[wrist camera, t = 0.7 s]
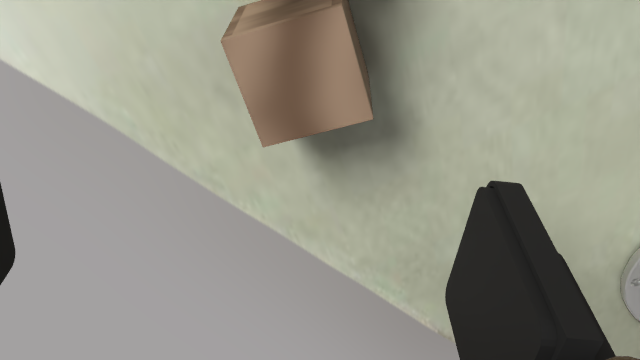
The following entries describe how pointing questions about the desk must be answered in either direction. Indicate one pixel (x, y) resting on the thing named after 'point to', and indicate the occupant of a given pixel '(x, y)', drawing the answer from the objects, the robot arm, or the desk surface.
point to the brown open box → (298, 67)
